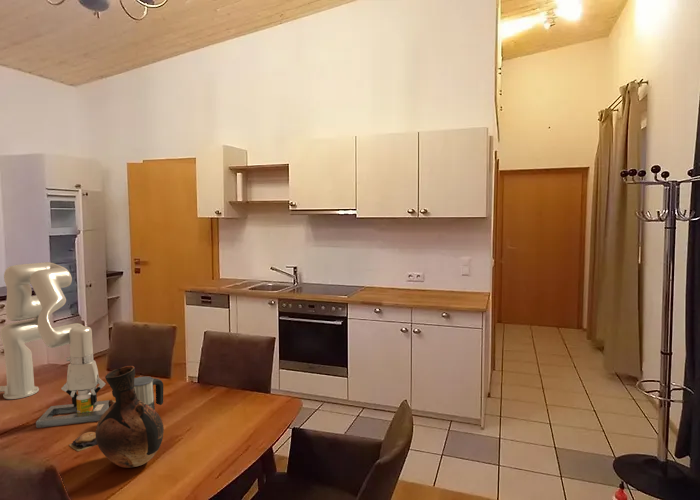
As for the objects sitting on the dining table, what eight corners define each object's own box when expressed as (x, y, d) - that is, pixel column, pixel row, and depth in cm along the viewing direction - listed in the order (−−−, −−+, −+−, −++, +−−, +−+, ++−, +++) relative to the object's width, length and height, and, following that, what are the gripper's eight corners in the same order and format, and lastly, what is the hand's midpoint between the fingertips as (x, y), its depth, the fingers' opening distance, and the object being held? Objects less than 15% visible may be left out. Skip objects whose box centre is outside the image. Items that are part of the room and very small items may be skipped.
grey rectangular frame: (36, 428, 167) (35, 421, 167) (51, 412, 180) (50, 406, 180) (102, 420, 172) (102, 414, 172) (112, 405, 186) (111, 399, 185)
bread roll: (78, 454, 149) (77, 443, 149) (67, 446, 154) (66, 435, 154) (111, 440, 158) (110, 430, 157) (100, 433, 163) (99, 423, 162)
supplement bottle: (80, 417, 173) (79, 392, 172) (74, 413, 177) (73, 389, 176) (95, 412, 178) (94, 388, 177) (89, 409, 181) (88, 385, 180)
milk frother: (145, 425, 168) (143, 385, 167) (107, 421, 171) (105, 383, 170) (168, 408, 182) (166, 372, 181) (133, 406, 185) (131, 370, 184)
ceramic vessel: (178, 456, 145) (173, 364, 143) (129, 486, 130) (124, 383, 128) (133, 442, 155) (128, 356, 153) (83, 468, 139) (77, 372, 137)
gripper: (53, 364, 170) (56, 411, 171) (104, 360, 174) (106, 406, 175) (60, 358, 177) (63, 403, 178) (109, 354, 181) (111, 398, 183)
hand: (84, 404), depth 177 cm, fingers closed on supplement bottle, 5 cm apart
